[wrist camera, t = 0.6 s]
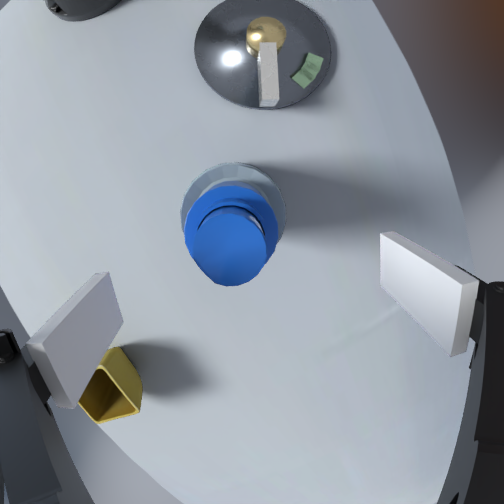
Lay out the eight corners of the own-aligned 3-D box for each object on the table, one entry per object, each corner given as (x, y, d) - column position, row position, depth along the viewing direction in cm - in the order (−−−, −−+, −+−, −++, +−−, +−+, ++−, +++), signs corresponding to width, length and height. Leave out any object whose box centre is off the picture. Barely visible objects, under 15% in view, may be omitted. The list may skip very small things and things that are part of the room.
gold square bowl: (122, 331, 44) (102, 365, 36) (154, 375, 47) (141, 413, 38) (82, 348, 45) (59, 380, 36) (113, 389, 47) (96, 424, 39)
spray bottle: (247, 149, 39) (264, 126, 15) (283, 211, 41) (346, 281, 17) (185, 186, 39) (110, 222, 15) (222, 246, 42) (203, 357, 18)
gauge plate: (185, 9, 33) (184, 4, 32) (310, -9, 33) (312, -14, 31) (209, 122, 38) (208, 121, 36) (341, 99, 37) (345, 97, 36)
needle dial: (245, 29, 33) (246, 14, 28) (280, 29, 33) (286, 14, 29) (248, 107, 36) (249, 99, 31) (285, 106, 36) (291, 99, 31)
